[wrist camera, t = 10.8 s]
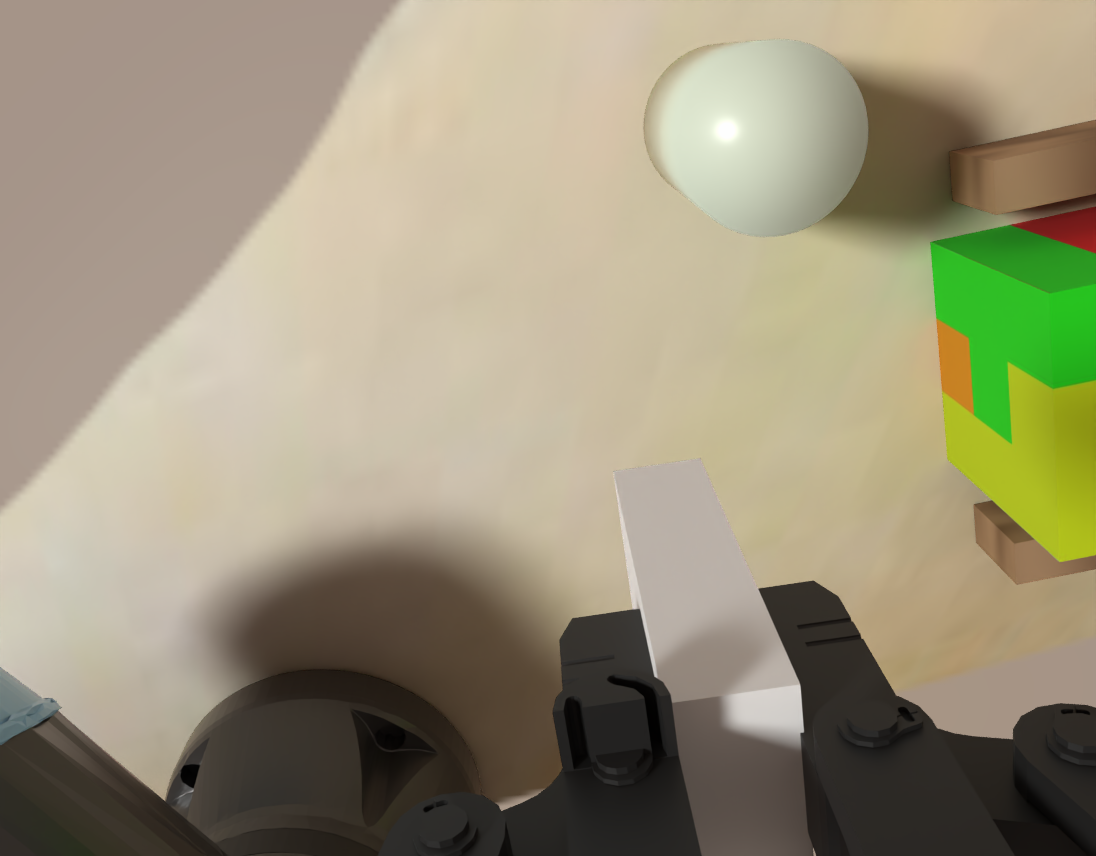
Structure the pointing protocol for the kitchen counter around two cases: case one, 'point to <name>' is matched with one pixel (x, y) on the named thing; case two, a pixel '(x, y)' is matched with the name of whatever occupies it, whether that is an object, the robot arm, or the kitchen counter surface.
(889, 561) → the kitchen counter surface
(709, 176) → the cream egg shape
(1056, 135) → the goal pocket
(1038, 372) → the puzzle toy
